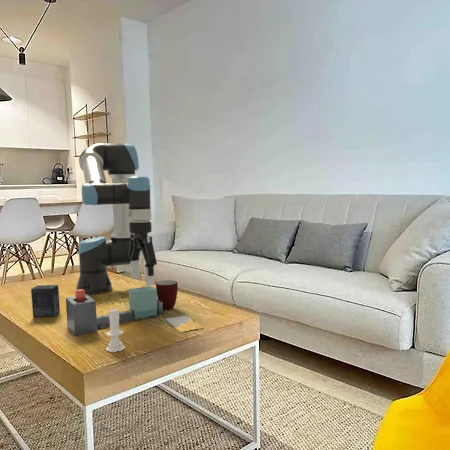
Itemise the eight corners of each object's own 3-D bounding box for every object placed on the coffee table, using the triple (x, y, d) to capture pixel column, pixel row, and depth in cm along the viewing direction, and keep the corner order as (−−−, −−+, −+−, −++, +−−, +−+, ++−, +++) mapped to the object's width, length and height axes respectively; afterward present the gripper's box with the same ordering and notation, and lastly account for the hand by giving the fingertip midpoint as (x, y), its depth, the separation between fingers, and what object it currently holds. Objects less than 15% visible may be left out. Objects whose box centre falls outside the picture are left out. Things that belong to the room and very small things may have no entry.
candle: (102, 351, 124) (100, 310, 123) (110, 344, 129) (108, 305, 128) (120, 352, 123) (118, 311, 122) (127, 345, 128) (126, 305, 127)
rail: (90, 324, 148) (89, 310, 148) (157, 312, 161) (156, 298, 161) (95, 329, 143) (94, 314, 143) (164, 316, 156) (163, 302, 156)
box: (60, 312, 163) (58, 284, 162) (54, 317, 157) (52, 288, 156) (39, 312, 163) (37, 284, 162) (32, 317, 158) (30, 288, 157)
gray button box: (67, 327, 146) (65, 297, 145) (88, 323, 150) (87, 294, 149) (74, 335, 138) (73, 304, 137) (97, 331, 141) (95, 301, 140)
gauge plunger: (75, 300, 143) (74, 290, 143) (83, 299, 145) (83, 288, 144) (77, 302, 141) (76, 291, 140) (86, 301, 142) (85, 290, 142)
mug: (155, 314, 159) (154, 287, 158) (147, 308, 166) (146, 282, 165) (181, 309, 164) (181, 283, 163) (173, 304, 171) (172, 279, 170)
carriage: (129, 315, 155) (128, 289, 155) (150, 311, 160) (149, 285, 159) (136, 319, 150) (135, 292, 150) (157, 315, 155) (156, 289, 154)
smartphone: (180, 332, 138) (163, 318, 151) (180, 335, 138) (163, 321, 152) (204, 327, 142) (186, 314, 155) (204, 330, 142) (186, 317, 155)
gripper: (117, 220, 160) (120, 277, 162) (143, 224, 139) (146, 289, 141) (137, 219, 164) (139, 274, 166) (165, 222, 143) (167, 286, 145)
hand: (142, 281), depth 154 cm, fingers open, 13 cm apart
